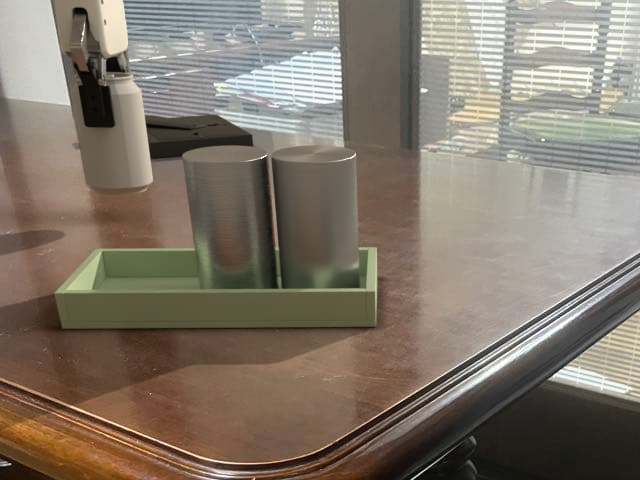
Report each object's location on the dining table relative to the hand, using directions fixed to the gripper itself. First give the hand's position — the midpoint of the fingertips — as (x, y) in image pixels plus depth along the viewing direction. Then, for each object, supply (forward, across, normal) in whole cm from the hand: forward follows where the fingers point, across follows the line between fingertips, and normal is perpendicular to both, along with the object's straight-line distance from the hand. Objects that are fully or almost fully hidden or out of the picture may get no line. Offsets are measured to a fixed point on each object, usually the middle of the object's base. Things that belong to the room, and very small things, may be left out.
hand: (110, 120), depth 98 cm
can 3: (+10, +29, +25) cm, 40 cm away
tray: (+11, +29, +17) cm, 35 cm away
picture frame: (+10, -47, -1) cm, 48 cm away
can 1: (+8, 0, 0) cm, 8 cm away
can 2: (+10, +29, +18) cm, 36 cm away
